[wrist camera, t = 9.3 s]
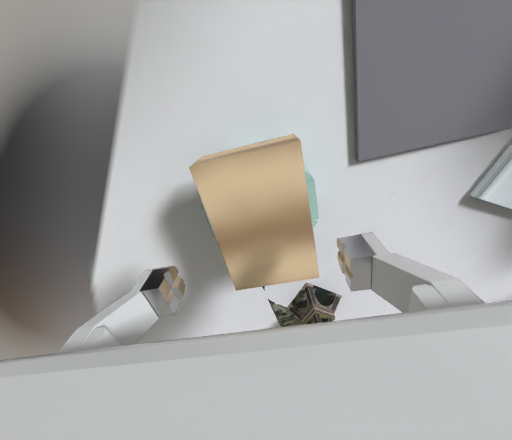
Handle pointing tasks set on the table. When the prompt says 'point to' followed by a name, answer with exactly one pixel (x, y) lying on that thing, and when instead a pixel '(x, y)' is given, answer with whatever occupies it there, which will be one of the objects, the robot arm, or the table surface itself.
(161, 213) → the table surface
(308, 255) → the lid
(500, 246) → the table surface
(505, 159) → the hard drive
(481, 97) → the mat
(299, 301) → the eiffel tower figurine
